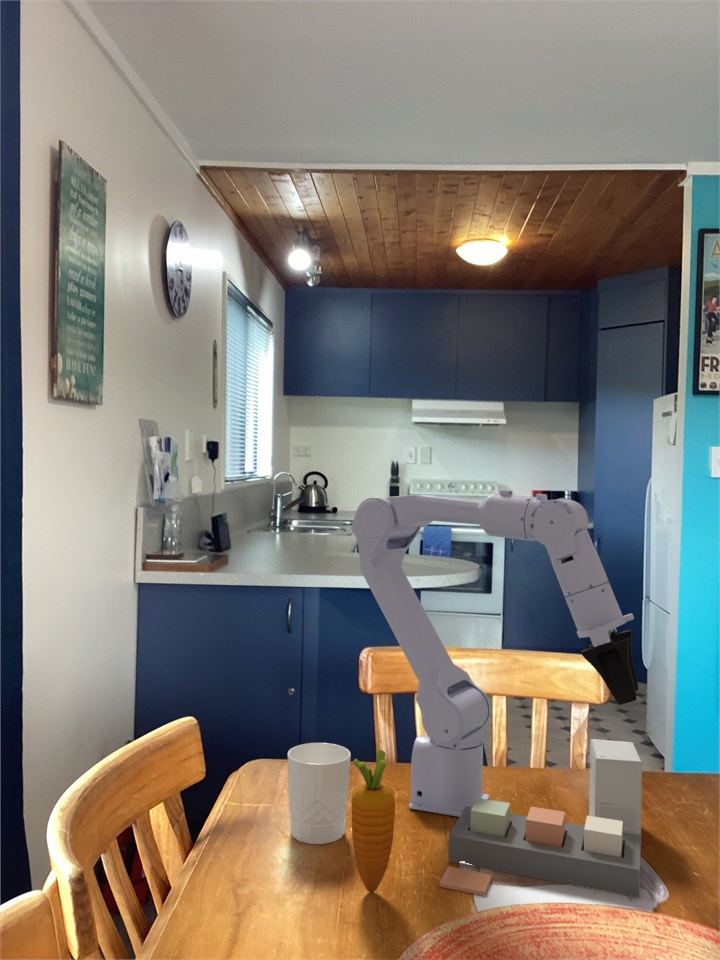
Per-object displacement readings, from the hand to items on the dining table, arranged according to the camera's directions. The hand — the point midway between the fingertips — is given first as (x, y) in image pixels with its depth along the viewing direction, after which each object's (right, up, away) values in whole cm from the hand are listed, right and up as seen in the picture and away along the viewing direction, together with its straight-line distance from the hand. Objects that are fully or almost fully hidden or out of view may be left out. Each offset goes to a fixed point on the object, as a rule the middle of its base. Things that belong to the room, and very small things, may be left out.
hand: (629, 697), depth 96 cm
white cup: (-38, -18, +3) cm, 42 cm away
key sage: (-17, -16, -1) cm, 24 cm away
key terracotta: (-11, -17, -3) cm, 20 cm away
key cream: (-5, -17, -5) cm, 18 cm away
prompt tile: (-21, -18, -8) cm, 29 cm away
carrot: (-31, -18, -11) cm, 38 cm away
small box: (0, -19, +5) cm, 20 cm away
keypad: (-11, -18, -3) cm, 22 cm away
